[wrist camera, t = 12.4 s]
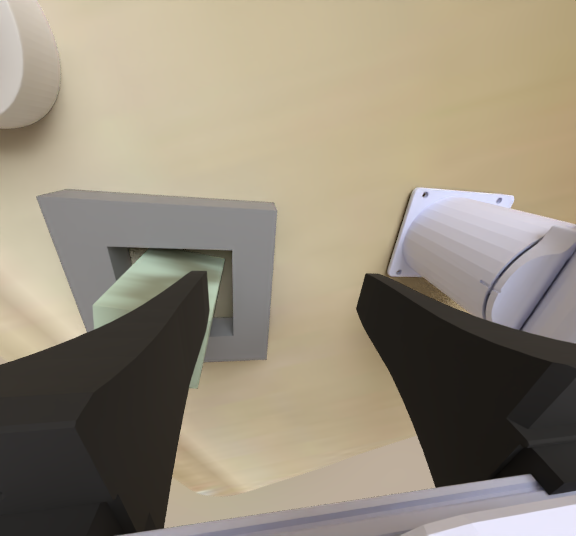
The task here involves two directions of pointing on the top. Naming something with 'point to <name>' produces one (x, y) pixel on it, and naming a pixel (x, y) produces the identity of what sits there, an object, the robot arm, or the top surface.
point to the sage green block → (159, 288)
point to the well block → (169, 234)
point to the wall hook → (26, 64)
